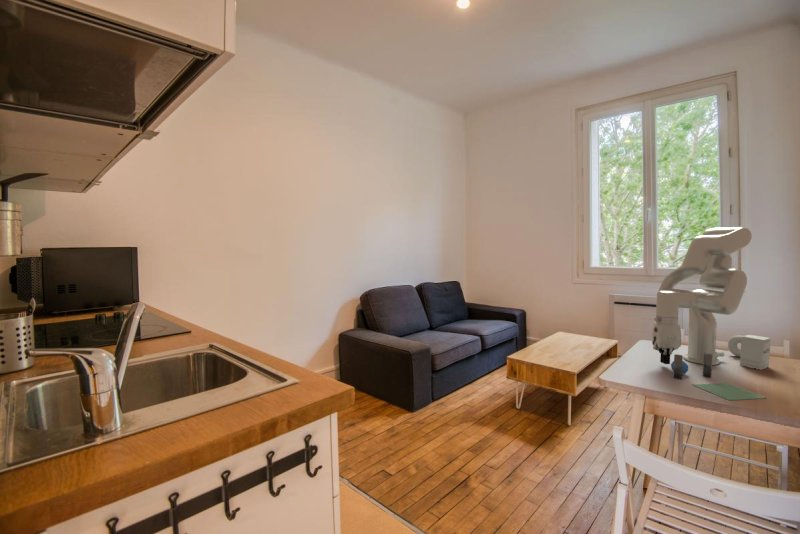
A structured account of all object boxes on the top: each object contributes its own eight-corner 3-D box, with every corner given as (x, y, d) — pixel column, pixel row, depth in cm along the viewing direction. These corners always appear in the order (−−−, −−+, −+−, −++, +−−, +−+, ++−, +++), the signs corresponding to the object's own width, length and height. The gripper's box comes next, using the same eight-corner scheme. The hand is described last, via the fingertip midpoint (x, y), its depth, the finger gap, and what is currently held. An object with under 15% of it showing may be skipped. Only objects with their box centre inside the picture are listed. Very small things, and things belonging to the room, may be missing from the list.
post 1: (677, 376, 148) (678, 354, 148) (683, 379, 146) (684, 356, 145) (671, 377, 148) (672, 354, 147) (677, 379, 145) (678, 356, 145)
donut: (755, 360, 169) (757, 337, 168) (750, 360, 168) (751, 338, 167) (730, 353, 178) (731, 332, 178) (725, 354, 177) (726, 333, 177)
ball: (693, 372, 147) (684, 377, 152) (689, 358, 151) (680, 364, 155) (678, 370, 148) (670, 375, 152) (674, 356, 151) (666, 362, 156)
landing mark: (725, 383, 142) (725, 382, 142) (766, 398, 128) (766, 397, 128) (692, 385, 140) (692, 384, 140) (729, 400, 126) (729, 400, 126)
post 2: (706, 375, 150) (707, 352, 149) (713, 377, 147) (714, 354, 147) (700, 375, 150) (701, 353, 149) (707, 378, 147) (708, 355, 146)
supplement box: (761, 370, 155) (763, 340, 154) (739, 365, 162) (740, 336, 161) (769, 367, 159) (771, 337, 158) (747, 362, 165) (748, 334, 164)
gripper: (657, 322, 155) (655, 366, 156) (690, 321, 157) (688, 365, 158) (643, 319, 162) (642, 361, 163) (675, 318, 164) (673, 359, 165)
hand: (665, 363), depth 161 cm, fingers closed
